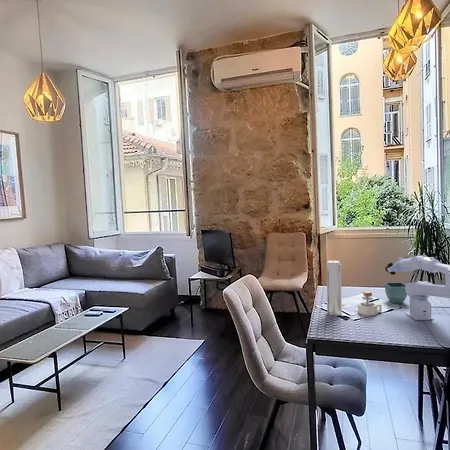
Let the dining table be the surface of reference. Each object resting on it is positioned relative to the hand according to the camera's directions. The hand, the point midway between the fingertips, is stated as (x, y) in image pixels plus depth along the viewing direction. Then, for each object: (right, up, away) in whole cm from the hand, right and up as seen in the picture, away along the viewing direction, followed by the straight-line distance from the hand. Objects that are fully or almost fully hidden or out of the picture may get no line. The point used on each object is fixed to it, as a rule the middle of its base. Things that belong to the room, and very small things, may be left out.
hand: (393, 267), depth 196 cm
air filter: (-32, -21, -10) cm, 39 cm away
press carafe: (-15, -20, -10) cm, 27 cm away
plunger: (-17, -16, -11) cm, 26 cm away
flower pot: (+3, -18, +5) cm, 19 cm away
